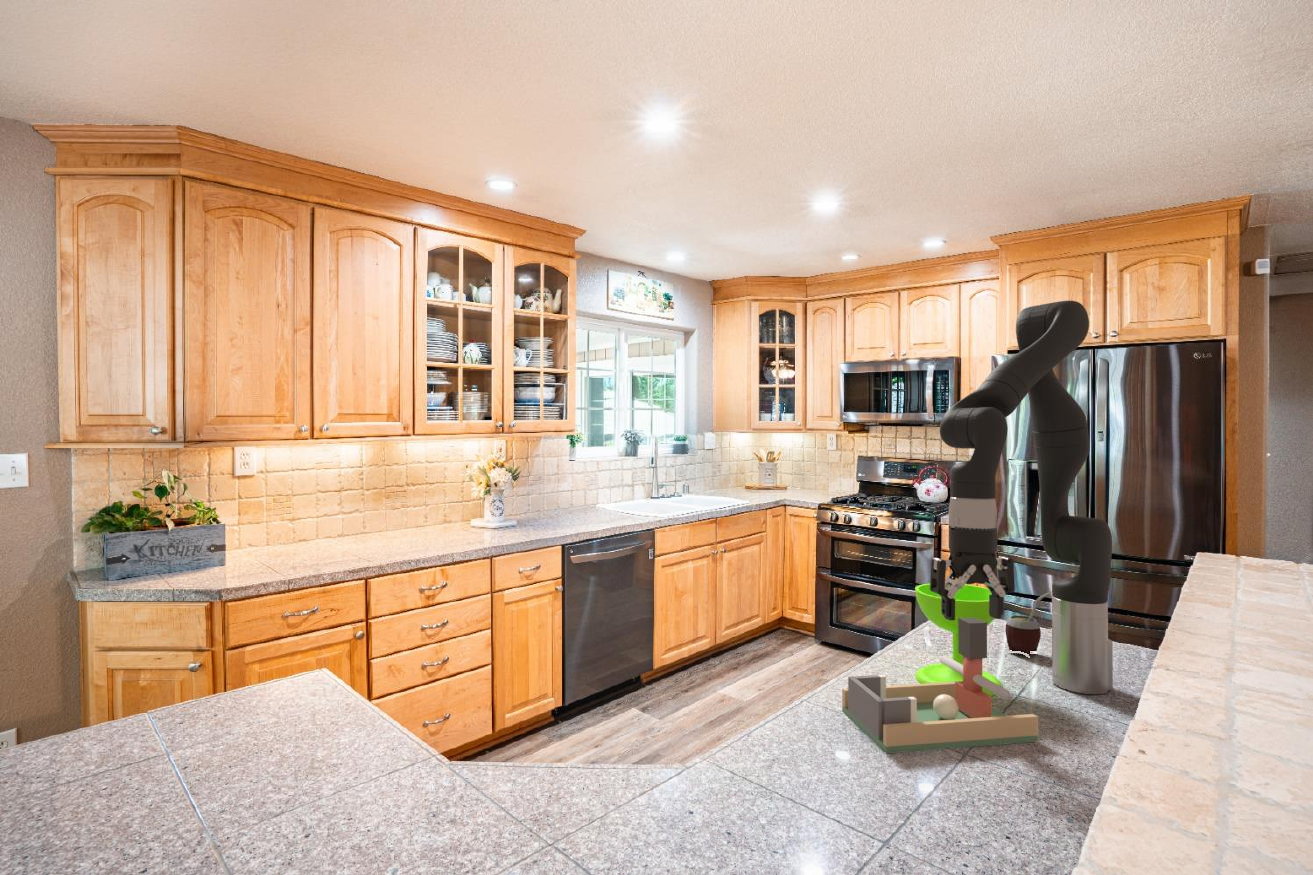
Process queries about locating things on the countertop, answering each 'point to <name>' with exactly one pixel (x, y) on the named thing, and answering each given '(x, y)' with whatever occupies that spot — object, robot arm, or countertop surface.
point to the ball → (945, 707)
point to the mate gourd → (1024, 631)
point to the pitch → (925, 718)
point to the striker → (973, 670)
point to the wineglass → (953, 627)
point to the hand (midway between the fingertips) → (972, 618)
